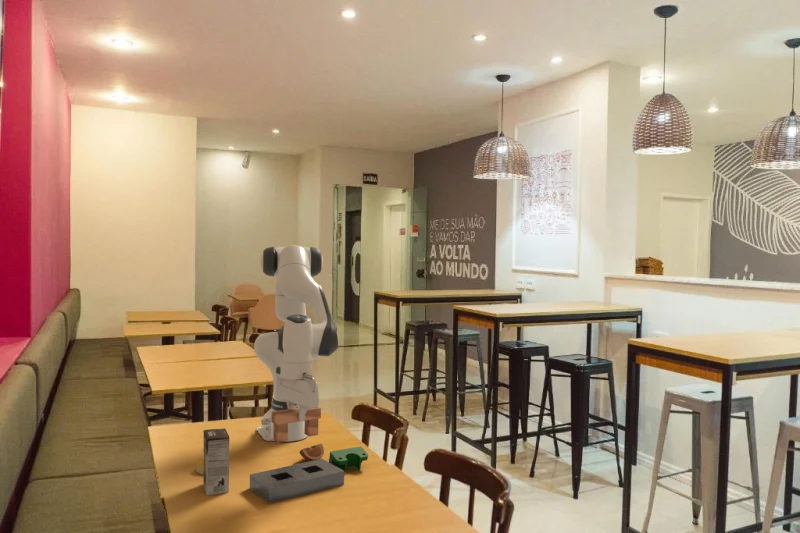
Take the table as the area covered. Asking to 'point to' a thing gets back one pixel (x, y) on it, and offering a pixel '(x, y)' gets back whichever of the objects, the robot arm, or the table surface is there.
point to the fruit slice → (312, 452)
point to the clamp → (348, 458)
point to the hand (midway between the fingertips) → (296, 418)
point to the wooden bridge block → (290, 416)
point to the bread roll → (200, 466)
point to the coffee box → (216, 461)
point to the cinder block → (296, 480)
